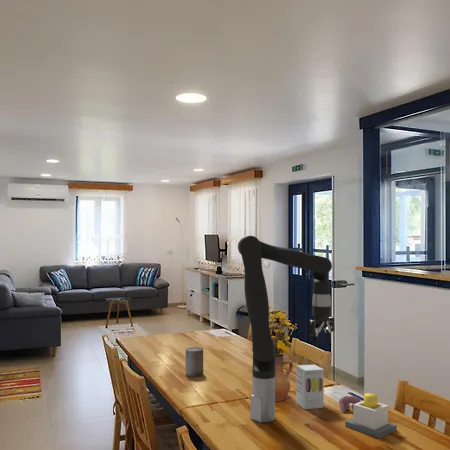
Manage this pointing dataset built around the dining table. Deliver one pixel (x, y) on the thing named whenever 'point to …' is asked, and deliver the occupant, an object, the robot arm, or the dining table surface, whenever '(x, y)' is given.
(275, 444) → the dining table surface
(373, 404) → the cap
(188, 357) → the pillar candle
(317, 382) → the supplement box
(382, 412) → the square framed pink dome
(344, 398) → the video game controller
